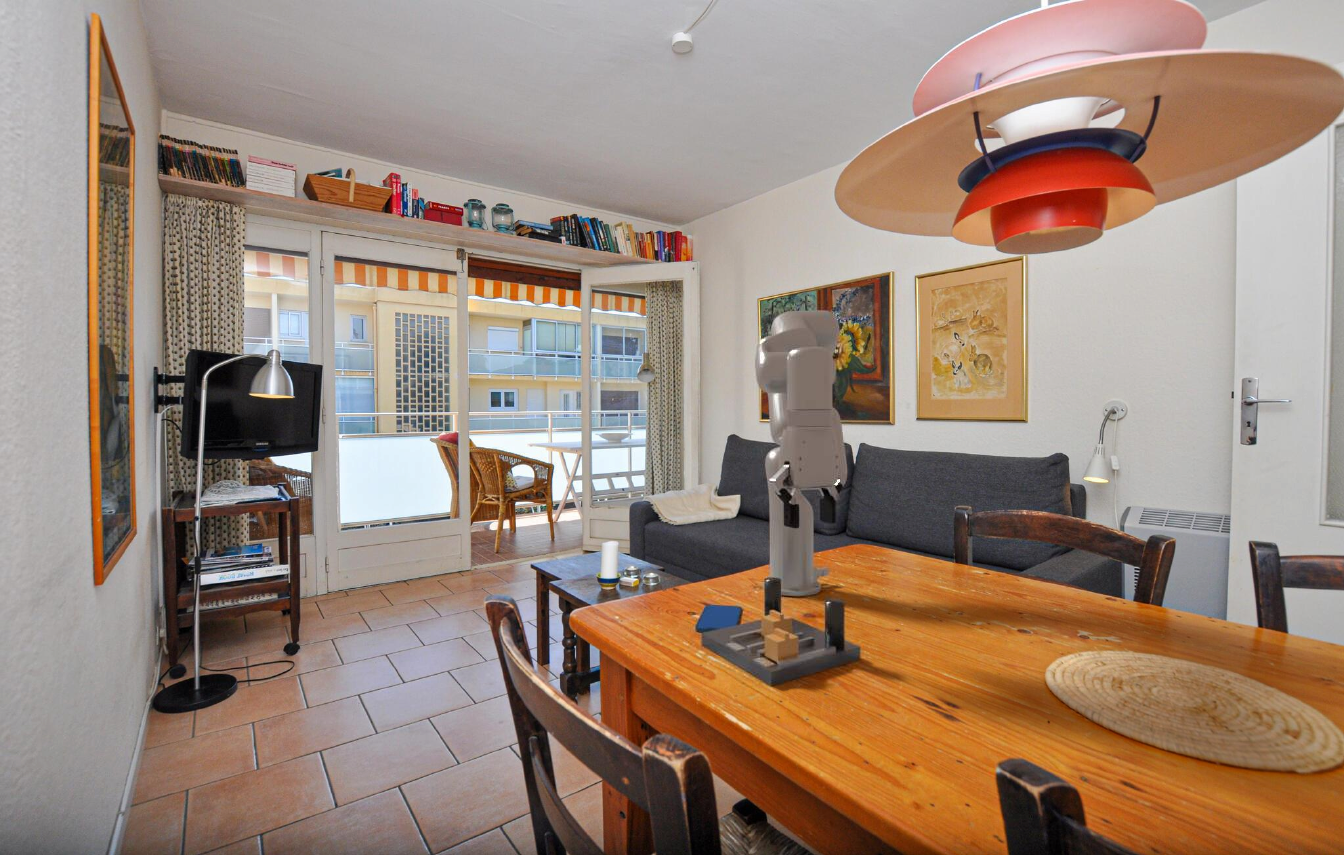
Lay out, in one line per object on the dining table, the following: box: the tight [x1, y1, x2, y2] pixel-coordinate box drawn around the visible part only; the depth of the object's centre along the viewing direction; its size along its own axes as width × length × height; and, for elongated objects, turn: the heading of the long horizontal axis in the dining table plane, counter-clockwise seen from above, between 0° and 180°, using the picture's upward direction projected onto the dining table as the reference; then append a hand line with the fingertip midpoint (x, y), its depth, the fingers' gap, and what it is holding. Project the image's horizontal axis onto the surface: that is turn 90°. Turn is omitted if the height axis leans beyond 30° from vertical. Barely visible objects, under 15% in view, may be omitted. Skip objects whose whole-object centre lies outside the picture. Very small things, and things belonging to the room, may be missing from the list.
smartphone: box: [694, 604, 743, 633], centre depth 113 cm, size 7×1×15 cm
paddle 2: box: [765, 628, 798, 662], centre depth 90 cm, size 4×3×4 cm
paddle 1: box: [760, 610, 793, 636], centre depth 98 cm, size 4×3×4 cm
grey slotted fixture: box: [701, 576, 861, 687], centre depth 98 cm, size 18×19×9 cm
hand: (809, 524), depth 102 cm, fingers open, 7 cm apart
